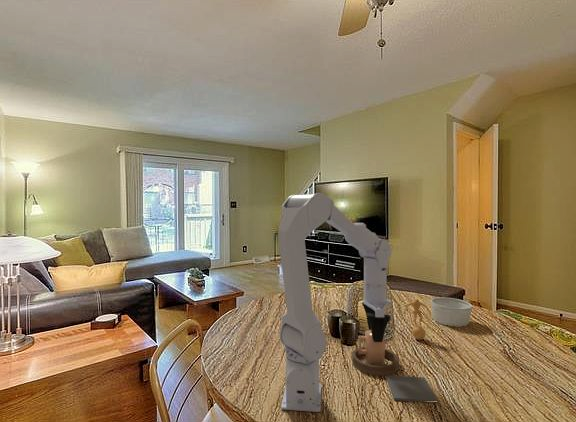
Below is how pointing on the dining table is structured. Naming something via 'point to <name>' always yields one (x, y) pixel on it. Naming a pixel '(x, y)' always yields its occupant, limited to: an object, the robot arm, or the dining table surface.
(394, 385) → the charcoal mat
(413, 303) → the figurine
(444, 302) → the ramekin
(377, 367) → the dark brown ring
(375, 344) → the pink rounded pillar
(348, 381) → the dining table surface
